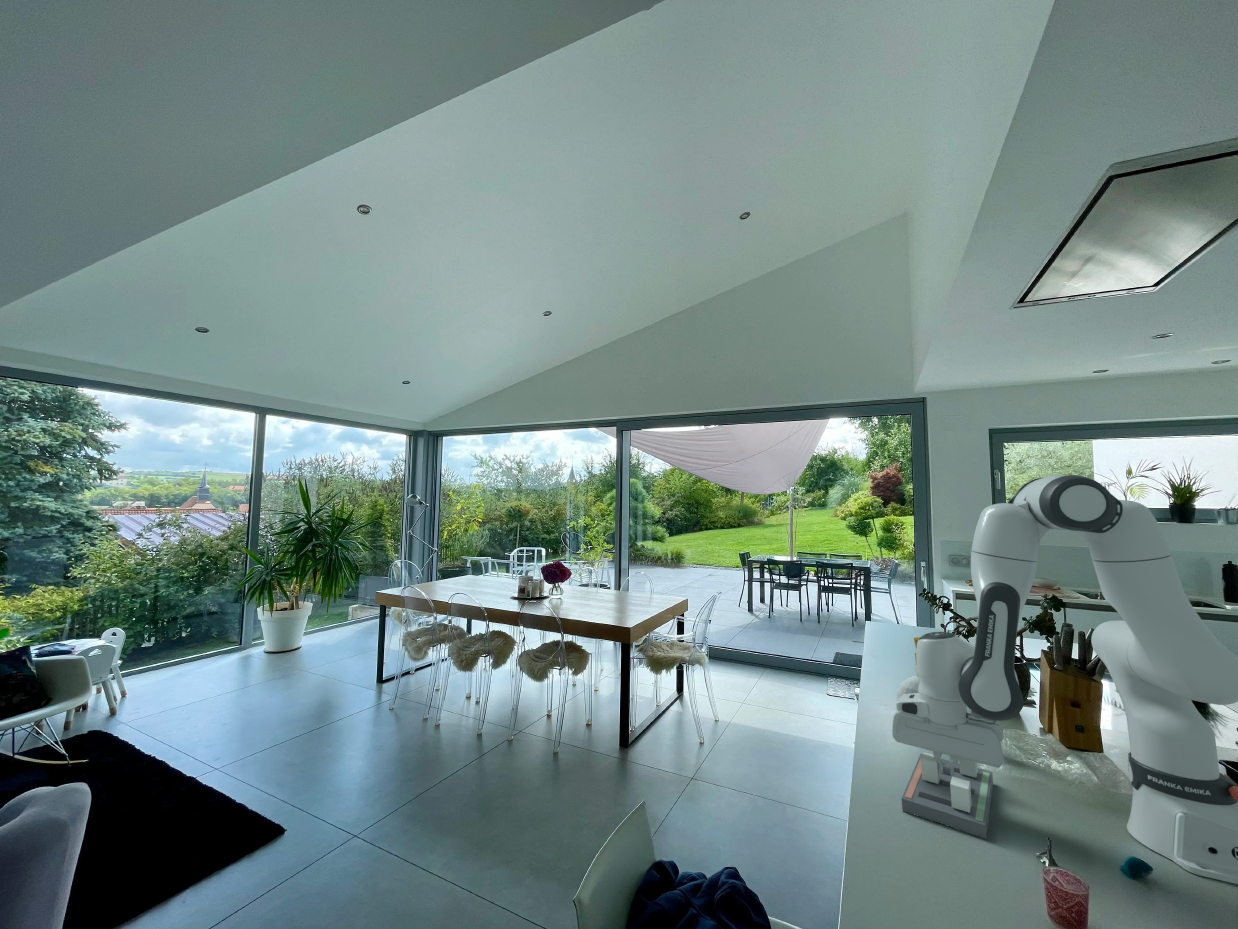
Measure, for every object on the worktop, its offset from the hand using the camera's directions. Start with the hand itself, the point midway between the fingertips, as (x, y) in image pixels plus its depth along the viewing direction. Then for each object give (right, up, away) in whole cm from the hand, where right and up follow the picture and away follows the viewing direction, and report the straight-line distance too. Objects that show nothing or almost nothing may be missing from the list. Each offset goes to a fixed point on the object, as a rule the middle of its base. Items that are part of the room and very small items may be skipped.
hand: (947, 774), depth 107 cm
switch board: (0, -5, 0) cm, 5 cm away
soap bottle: (+13, -7, +28) cm, 31 cm away
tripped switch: (-2, -2, +2) cm, 4 cm away
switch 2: (-3, -1, -8) cm, 9 cm away
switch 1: (+8, -2, +4) cm, 9 cm away
